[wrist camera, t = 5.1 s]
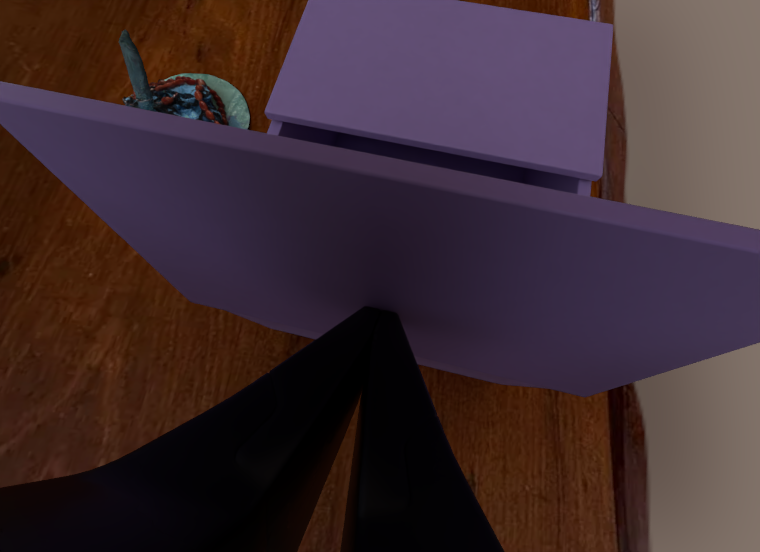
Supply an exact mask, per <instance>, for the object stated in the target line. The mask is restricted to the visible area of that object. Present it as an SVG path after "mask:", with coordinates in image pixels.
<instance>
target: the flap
mask: <svg viewBox="0 0 760 552" xmlns="http://www.w3.org/2000/svg"><path fill="white" fill-rule="evenodd" d="M0 124H1V125H2V126H3V127H4V128H5V129H6V130H7V131H8V132H10V133H11V134H12V135H13V136H14V137H15V138H16V139H17V140H18V141H19V142H20V143H21V144H22V145H23V146H24V147H26V148H27V149H28V150H29V151H30V152H31V153H32V154H33V155H34V156H35V157H36V158H37V159H38V160H39V161H41V162H42V163H43V164H44V165H45V166H46V167H47V168H48V169H49V170H50V171H51V172H52V173H53V174H54V175H55V176H57V177H58V178H59V179H60V180H61V181H62V182H63V183H64V184H65V185H66V186H67V187H68V188H69V189H70V190H72V191H73V192H74V193H75V194H76V195H77V196H78V197H79V198H80V199H81V200H82V201H83V202H84V203H85V204H87V205H88V206H89V207H90V208H91V209H92V210H93V211H94V212H95V213H96V214H97V215H98V216H99V217H100V218H101V219H103V220H104V221H105V222H106V223H107V224H108V225H109V226H110V227H111V228H112V229H113V230H114V231H115V232H116V233H118V234H119V235H120V236H121V237H122V238H123V239H124V240H125V241H126V242H127V243H128V244H129V245H130V246H131V247H132V248H134V249H135V250H136V251H137V252H138V253H139V254H140V255H141V256H142V257H143V258H144V259H145V260H146V261H147V262H149V263H150V264H151V265H152V266H153V267H154V268H155V269H156V270H157V271H158V272H159V273H160V274H161V275H162V276H163V277H165V278H166V279H167V280H168V281H169V282H170V283H171V284H172V285H173V286H174V287H175V288H176V289H177V290H178V291H180V292H181V293H182V294H183V295H184V296H185V297H186V298H187V299H188V300H189V301H190V302H193V303H197V304H202V305H206V306H210V307H214V308H218V309H222V310H226V311H230V312H235V313H239V314H243V315H247V316H251V317H255V318H259V319H264V320H268V321H272V322H276V323H280V324H284V325H288V326H292V327H297V328H301V329H305V330H309V331H313V332H317V333H321V334H325V333H326V332H327V331H329V330H330V329H332V328H333V327H335V326H336V325H338V324H339V323H340V322H342V321H343V320H345V319H346V318H348V317H349V316H351V315H352V314H354V313H355V312H356V311H358V310H359V309H361V308H362V307H364V306H369V307H373V308H378V309H380V311H382V310H386V311H391V312H395V313H397V314H398V315H399V318H400V320H401V323H402V326H403V328H404V331H405V333H406V336H407V338H408V341H409V343H410V346H411V349H412V351H413V354H414V356H416V357H421V358H425V359H429V360H433V361H437V362H441V363H445V364H449V365H454V366H458V367H462V368H466V369H470V370H474V371H478V372H482V373H487V374H491V375H495V376H499V377H503V378H507V379H511V380H516V381H520V382H524V383H528V384H532V385H536V386H540V387H544V388H549V389H553V390H557V391H561V392H565V393H569V394H573V395H578V396H582V397H587V396H591V395H594V394H597V393H600V392H603V391H607V390H610V389H613V388H616V387H619V386H622V385H626V384H629V383H632V382H635V381H638V380H642V379H645V378H648V377H651V376H654V375H657V374H660V373H664V372H667V371H670V370H673V369H676V368H679V367H683V366H686V365H689V364H692V363H696V362H699V361H702V360H705V359H708V358H712V357H715V356H718V355H721V354H724V353H727V352H730V351H734V350H737V349H740V348H743V347H747V346H750V345H752V344H756V343H759V342H760V230H759V229H753V228H748V227H743V226H738V225H733V224H728V223H723V222H717V221H712V220H707V219H702V218H697V217H692V216H687V215H682V214H677V213H672V212H666V211H661V210H656V209H651V208H646V207H641V206H635V205H631V204H625V203H620V202H615V201H610V200H605V199H600V198H595V197H590V196H585V195H579V194H574V193H569V192H564V191H559V190H554V189H549V188H544V187H538V186H533V185H528V184H523V183H518V182H513V181H508V180H503V179H497V178H492V177H487V176H482V175H477V174H472V173H467V172H462V171H457V170H451V169H446V168H441V167H436V166H431V165H426V164H421V163H416V162H410V161H405V160H400V159H395V158H390V157H385V156H380V155H375V154H369V153H364V152H359V151H354V150H349V149H344V148H339V147H334V146H329V145H323V144H318V143H313V142H308V141H303V140H298V139H293V138H288V137H282V136H277V135H272V134H267V133H262V132H257V131H252V130H247V129H241V128H236V127H231V126H226V125H221V124H216V123H211V122H206V121H201V120H195V119H190V118H185V117H180V116H175V115H170V114H165V113H160V112H154V111H149V110H144V109H139V108H134V107H129V106H124V105H119V104H113V103H108V102H103V101H98V100H93V99H88V98H83V97H78V96H73V95H67V94H62V93H57V92H52V91H47V90H42V89H37V88H32V87H26V86H21V85H16V84H11V83H6V82H1V81H0Z"/></svg>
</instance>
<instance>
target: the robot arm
mask: <svg viewBox="0 0 760 552" xmlns="http://www.w3.org/2000/svg"><path fill="white" fill-rule="evenodd" d="M361 392H362V394H361ZM360 395H361V400H360V406H359V413H358V421H357V429H356V436H355V444H354V452H353V459H352V467H351V475H350V482H349V490H348V497H347V505H346V513H345V520H344V528H343V536H342V543H341V551H340V552H504V550H503V548H502V546H501V544H500V542H499V541H498V539H497V537H496V535H495V533H494V531H493V529H492V527H491V525H490V524H489V522H488V520H487V518H486V516H485V514H484V512H483V510H482V509H481V507H480V505H479V503H478V501H477V499H476V497H475V495H474V494H473V492H472V490H471V488H470V486H469V484H468V482H467V480H466V478H465V476H464V474H463V472H462V470H461V468H460V466H459V464H458V462H457V460H456V458H455V456H454V454H453V452H452V449H451V447H450V445H449V442H448V440H447V438H446V435H445V433H444V430H443V428H442V425H441V423H440V420H439V418H438V416H437V413H436V410H435V408H434V405H433V403H432V400H431V397H430V395H429V392H428V390H427V387H426V385H425V382H424V379H423V377H422V374H421V372H420V369H419V367H418V364H417V361H416V359H415V356H414V354H413V351H412V349H411V346H410V343H409V341H408V338H407V336H406V333H405V331H404V328H403V326H402V323H401V320H400V318H399V315H398V314H397V313H395V312H391V311H386V310H382V311H380V309H378V308H373V307H369V306H364V307H362V308H361V309H359V310H358V311H356V312H355V313H354V314H352V315H351V316H349V317H348V318H346V319H345V320H343V321H342V322H340V323H339V324H338V325H336V326H335V327H333V328H332V329H330V330H329V331H327V332H326V333H325V334H323V335H322V336H320V337H319V338H317V339H316V340H314V341H313V342H311V343H310V344H309V345H307V346H306V347H304V348H303V349H301V350H300V351H298V352H297V353H295V354H294V355H293V356H291V357H290V358H288V359H287V360H285V361H284V362H282V363H281V364H279V365H278V366H277V367H275V368H274V369H272V370H271V371H270V372H269V373H266V374H265V375H263V376H262V377H260V378H259V379H257V380H256V381H254V382H253V383H251V384H250V385H248V386H247V387H245V388H244V389H242V390H241V391H239V392H238V393H236V394H234V395H233V396H231V397H230V398H228V399H226V400H224V401H223V402H221V403H219V404H218V405H216V406H214V407H212V408H211V409H209V410H207V411H206V412H204V413H202V414H200V415H198V416H197V417H195V418H193V419H191V420H189V421H187V422H186V423H184V424H182V425H180V426H178V427H177V428H175V429H173V430H171V431H169V432H167V433H166V434H164V435H162V436H160V437H158V438H157V439H155V440H153V441H151V442H149V443H148V444H146V445H144V446H142V447H140V448H138V449H137V450H135V451H133V452H131V453H129V454H127V455H125V456H123V457H121V458H119V459H117V460H115V461H113V462H110V463H108V464H106V465H103V466H100V467H98V468H95V469H92V470H89V471H86V472H82V473H78V474H75V475H70V476H65V477H59V478H54V479H48V480H42V481H37V482H31V483H25V484H19V485H14V486H8V487H2V488H0V552H297V551H298V548H299V546H300V543H301V541H302V538H303V536H304V533H305V531H306V529H307V526H308V524H309V521H310V519H311V516H312V514H313V511H314V509H315V507H316V504H317V502H318V499H319V497H320V494H321V492H322V489H323V487H324V485H325V482H326V480H327V477H328V475H329V472H330V470H331V467H332V465H333V462H334V460H335V458H336V455H337V453H338V450H339V448H340V445H341V443H342V440H343V438H344V436H345V433H346V431H347V428H348V426H349V423H350V421H351V418H352V416H353V414H354V411H355V409H356V406H357V404H358V401H359V398H360Z"/></svg>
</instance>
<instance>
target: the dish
mask: <svg viewBox="0 0 760 552" xmlns="http://www.w3.org/2000/svg"><path fill="white" fill-rule="evenodd" d="M119 43H120V46H121V50H122V52H123V56H124V60H125V63H126V66H127V69H128V73H129V76H130V80H131V83H132V86H133V89H134V92H133V94H132V95H131V96H133V98H131V97H127V98H125V97H124V99H122V100H123V102H124V104H125V105H126V106H129V107H134V108H139V109H144V110H149V111H154V112H160V113H165V114H170V115H175V116H180V117H185V118H190V119H195V120H201V121H206V122H211V123H216V124H221V125H226V126H231V127H236V128H241V129H248V126H249V121H250V115H249V110H248V106H247V104H246V101H245V99H244V98H243V96H242V94H241V93H240V92H239V90H237V89H236V88H235V87H233V86H232V85H231V84H230V83H228V82H227V81H225V80H222V79H220V78H217V77H214V76H212V75H208V74H179V75H176V76H172V77H170V78H168V79H166V80H159V81H158V83H153V82H152V83H150V84H148V80H147V76H146V72H145V69H144V66H143V62H142V59H141V57H140V55H139V52H138V50H137V48H136V46H135V45H134V43H133V42H132V40H131V38H130V36H129V33H128V32H127V31H126V30H124V31H122V35H121V36H120V38H119Z"/></svg>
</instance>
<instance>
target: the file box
mask: <svg viewBox="0 0 760 552" xmlns="http://www.w3.org/2000/svg"><path fill="white" fill-rule="evenodd" d="M612 35H613V25H612V24H606V23H600V22H593V21H587V20H580V19H574V18H567V17H561V16H554V15H548V14H541V13H535V12H528V11H522V10H516V9H509V8H503V7H496V6H490V5H483V4H477V3H470V2H464V1H457V0H308V3H307V5H306V8H305V11H304V13H303V16H302V18H301V21H300V23H299V26H298V28H297V31H296V33H295V36H294V38H293V41H292V43H291V46H290V48H289V51H288V54H287V56H286V59H285V61H284V64H283V66H282V69H281V71H280V74H279V76H278V79H277V81H276V84H275V86H274V89H273V91H272V94H271V96H270V99H269V102H268V104H267V107H266V109H265V114H266V116H267V118H268V119H272V122H271V124H270V127H269V130H268V132H267V134H272V135H277V136H282V137H288V138H293V139H298V140H303V141H308V142H313V143H318V144H323V145H329V146H334V147H339V148H344V149H349V150H354V151H359V152H364V153H369V154H375V155H380V156H385V157H390V158H395V159H400V160H405V161H410V162H416V163H421V164H426V165H431V166H436V167H441V168H446V169H451V170H457V171H462V172H467V173H472V174H477V175H482V176H487V177H492V178H497V179H503V180H508V181H513V182H518V183H523V184H528V185H533V186H538V187H544V188H549V189H554V190H559V191H564V192H569V193H574V194H579V195H585V196H590V192H591V181H597V180H598V179H599V178H600V177H602V172H603V159H604V145H605V131H606V117H607V104H608V90H609V76H610V62H611V48H612ZM228 312H230V311H228ZM231 313H233V314H236V315H238V316H241V317H243V318H246V319H248V320H251V321H254V322H256V323H259V324H261V325H264V326H266V327H269V328H271V329H275V330H280V331H284V332H288V333H292V334H296V335H300V336H304V337H308V338H312V339H317V338H319V337H320V336H322V335H323V334H321V333H317V332H313V331H309V330H305V329H301V328H297V327H292V326H288V325H284V324H280V323H276V322H272V321H268V320H264V319H259V318H255V317H251V316H247V315H243V314H239V313H235V312H231ZM415 359H416V361H417V364H419V365H423V366H427V367H431V368H435V369H439V370H444V371H448V372H452V373H456V374H460V375H464V376H468V377H472V378H476V379H481V380H485V381H489V382H493V383H497V384H502V385H514V386H525V387H536V388H544V387H540V386H536V385H532V384H528V383H524V382H520V381H516V380H511V379H507V378H503V377H499V376H495V375H491V374H487V373H482V372H478V371H474V370H470V369H466V368H462V367H458V366H454V365H449V364H445V363H441V362H437V361H433V360H429V359H425V358H421V357H416V356H415ZM548 389H549V388H548Z"/></svg>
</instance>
